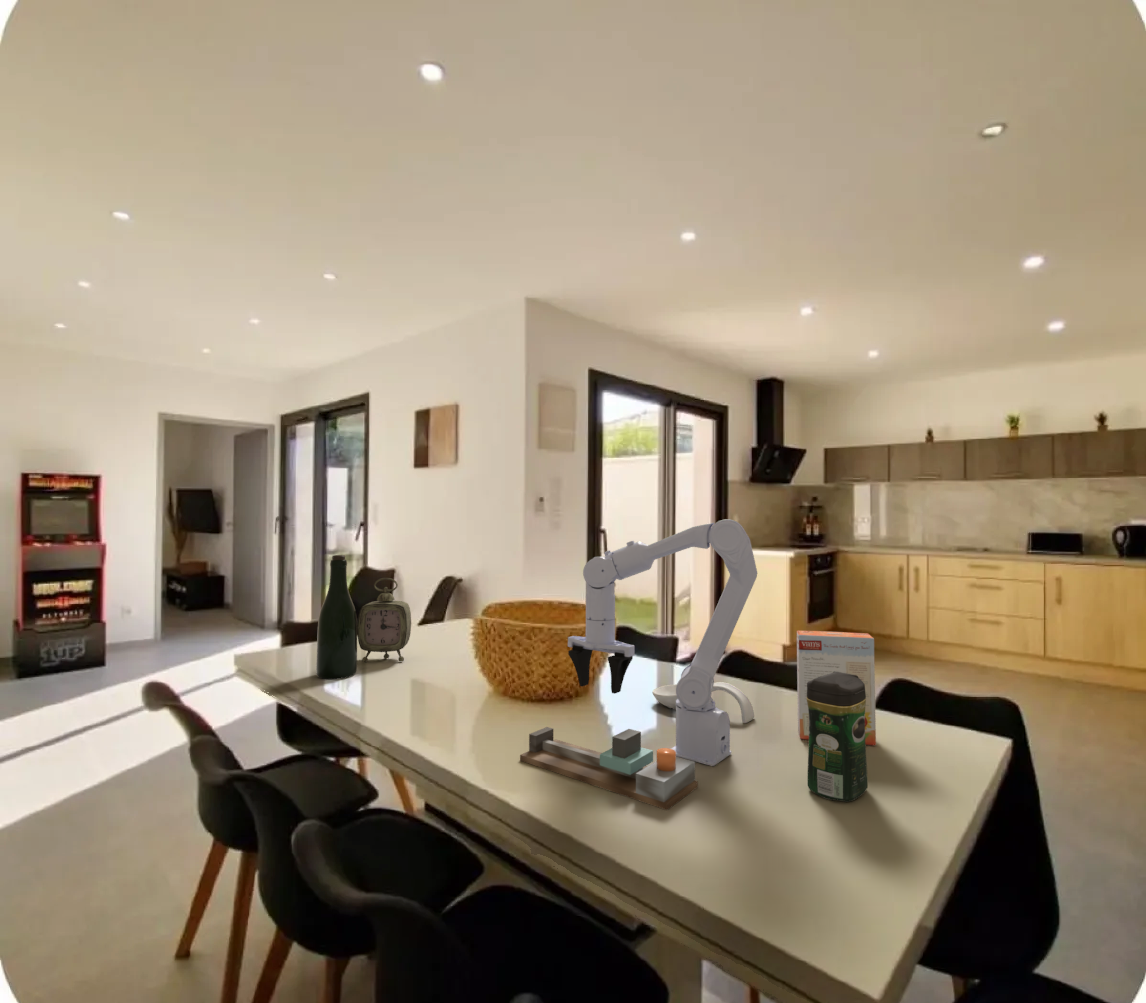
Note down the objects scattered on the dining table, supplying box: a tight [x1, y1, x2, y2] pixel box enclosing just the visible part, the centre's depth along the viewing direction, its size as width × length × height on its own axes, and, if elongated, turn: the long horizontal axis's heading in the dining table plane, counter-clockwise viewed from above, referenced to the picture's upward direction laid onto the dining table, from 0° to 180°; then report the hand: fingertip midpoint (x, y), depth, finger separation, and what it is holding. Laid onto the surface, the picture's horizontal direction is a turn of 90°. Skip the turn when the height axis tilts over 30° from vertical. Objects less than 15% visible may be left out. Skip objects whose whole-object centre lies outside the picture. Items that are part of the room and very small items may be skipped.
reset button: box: [656, 747, 677, 771], centre depth 98 cm, size 3×3×2 cm
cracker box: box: [796, 630, 877, 746], centre depth 124 cm, size 14×6×21 cm, turn 74°
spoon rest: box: [652, 681, 755, 724], centre depth 141 cm, size 24×12×7 cm, turn 52°
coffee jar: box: [807, 671, 869, 803], centre depth 100 cm, size 10×8×19 cm
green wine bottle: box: [315, 554, 358, 680], centre depth 170 cm, size 10×10×33 cm
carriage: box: [600, 728, 654, 775], centre depth 103 cm, size 6×7×5 cm
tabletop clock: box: [357, 577, 412, 663], centre depth 188 cm, size 14×9×25 cm, turn 95°
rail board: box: [519, 726, 699, 811], centre depth 106 cm, size 30×10×4 cm, turn 52°
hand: (599, 688), depth 120 cm, fingers open, 7 cm apart
